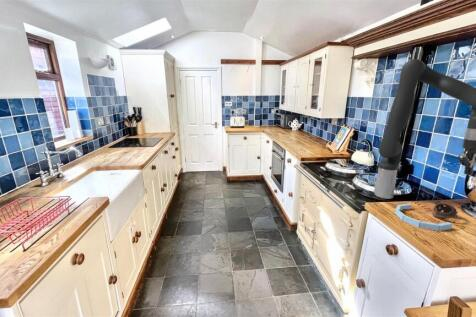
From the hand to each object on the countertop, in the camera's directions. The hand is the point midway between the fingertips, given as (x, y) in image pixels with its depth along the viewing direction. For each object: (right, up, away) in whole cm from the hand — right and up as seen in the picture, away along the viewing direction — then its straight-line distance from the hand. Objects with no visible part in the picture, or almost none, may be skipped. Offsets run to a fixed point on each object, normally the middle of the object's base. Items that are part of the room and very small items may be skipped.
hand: (467, 174), depth 107 cm
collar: (-25, -22, 0) cm, 33 cm away
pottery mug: (-10, -21, +2) cm, 23 cm away
